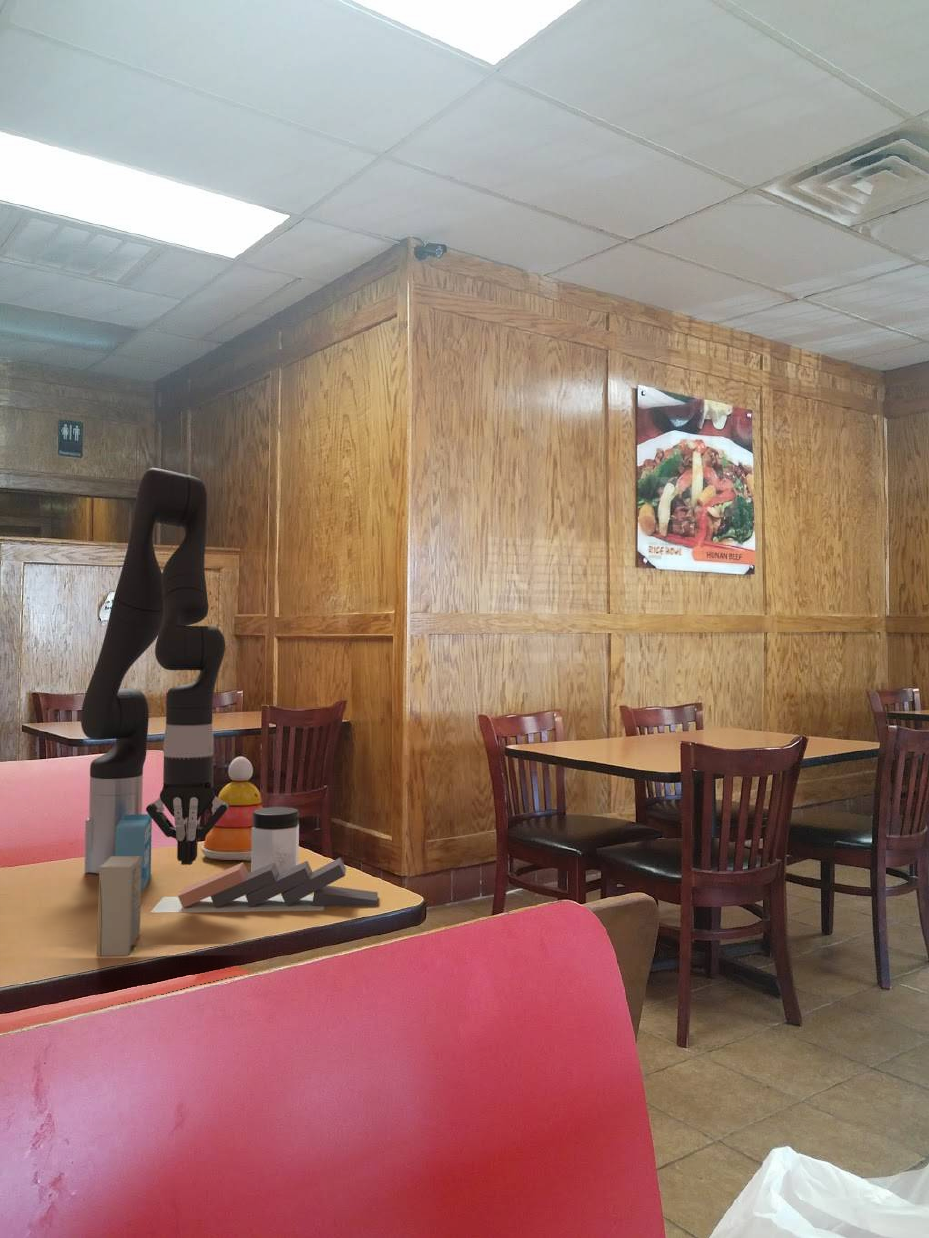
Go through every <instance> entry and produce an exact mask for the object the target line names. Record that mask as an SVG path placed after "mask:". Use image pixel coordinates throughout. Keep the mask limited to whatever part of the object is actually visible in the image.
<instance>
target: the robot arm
mask: <svg viewBox="0 0 929 1238" xmlns="http://www.w3.org/2000/svg"><path fill="white" fill-rule="evenodd" d="M136 493H137V494H136V499H135V505H134V509H133V516H132V520H131V521H132V522H131V527H130V532H129V537H128V542H127V548H126V552H125V557H124V560H123V564H122V567H121V571H120V575H119V578H118V582H117V586H116V589H115V592H114V595H113V600H112V603H111V607H110V612H109V616H108V622H107V626H106V629H105V634H104V637H103V642H102V646H101V647H100V648H101V649H100V652H99V655H98V659H97V662H96V664H95V667H94V671H93V674H92V675H91V677H90V678H91V679H90V681H89V684H88V686H87V689H86V692H85V694H84V697H83V702H82V704H81V705H82V707H81V711H80V712H81V713H80V724H81V726H80V727H81V730H82V732H83V734H84V735H85V736H86V737H87V738H88V739H90V740H94V741H95V740H96V741H101V740H115V743H114V745H113V747H111V748H110V749H109V750H108V752H106V753H104V754H103V755H101V756H99V757H96V758H95V759H93V760H92V761H91V763H90V765H89V766H90V767H89V807H88V808H89V813H88V814H89V815H88V818H87V819H85V832H84V837H85V838H84V873H91V874H96V875H97V874H98V875H99V867H100V866H101V865H102V864H103V863H104V862H105V861H106V860H107V859H109V858H110V857H111V856H115V850H116V828H117V825H118V824H119V822H120V821H121V819H122V818H123V817H124V815H137V814H143V788H144V787H143V784H144V783H143V781H144V780H143V779H144V776H143V774H144V765H145V763H146V758H147V749H148V735H149V734H148V731H149V720H150V719H149V718H150V716H149V713H150V712H149V704H148V700H147V697H146V695H145V694H144V693H143V691H142V690H140V689H138V688H132V687H131V688H129V687H128V688H121V685H122V682H123V680H124V678H125V676H126V674H127V672H128V671H129V670H130V668H132V666H133V665H134V663H136V661H137V660H138V659H139V658H140V657H141V656H142V655H143V654H144V653H145V652H146V651H147V650H148V649H149V648H150V646H151V645H152V644H153V643H154V641H156V642H155V648H154V654H155V655H154V656H155V658H156V662H157V663H158V664H159V666H160V667H161V668H163V669H164V670H168V671H199V674H198V676H197V678H196V679H195V680H194V681H192V682H190V683H187V684H181V685H176V686H173V687H171V688H169V689H168V691H167V692H166V693H167V694H166V697H165V698H166V701H165V702H166V703H165V706H166V707H165V709H166V710H165V711H166V714H165V719H166V720H165V731H164V736H163V737H164V738H163V748H162V753H163V770H162V771H163V772H162V773H163V779H162V782H163V783H162V784H163V786H162V788H161V791H160V793H159V797H158V798H157V799H156V800H155V801H153V802H151V803H150V804H148V805H147V806H146V808H145V811H146V814H149V815H150V816H151V818H152V820H153V822H154V823H155V824H156V825H157V827H158V828H159V830H160V831H161V832H162V833H163V834H164V836H165V837H166V838H173V839H175V840H176V842H177V844H176V845H177V846H176V848H177V849H176V852H177V853H176V859H177V861H178V862H180V864H181V866H187V865H189V866H191V865H192V864H193V862H195V861H196V860H197V858H198V845H199V844H198V841H199V839H201V838H203V837H206V835H207V834H208V833H209V832H210V830H211V829H212V828H213V827H214V825H215V824H216V823H217V822H218V820H219V819H220V818H221V817H222V815H223V814H224V813H225V812H226V810H227V809H228V808H229V804H228V803H227V802H222V801H221V800H220V799H219V798H218V796H217V792H216V790H215V786H214V748H215V747H214V743H215V742H214V729H213V706H214V705H213V702H214V692H215V688H216V683H217V679H218V675H219V672H220V668H221V666H222V662H223V659H224V657H225V656H224V655H225V652H226V640H225V637H224V635H223V632H222V631H221V630H220V629H219V628H217V627H216V626H211V625H195V624H197V623H200V622H203V620H204V619H206V617H207V616H208V613H209V599H208V591H207V582H206V572H205V556H206V555H205V554H206V544H207V543H206V540H207V539H206V538H207V522H208V521H207V519H208V494H207V493H208V492H207V488H206V485H205V483H204V482H203V480H201V479H200V478H198V477H195V476H192V475H189V474H184V473H179V472H176V471H172V470H166V469H161V468H157V467H150V468H148V469H146V471H145V472H144V474H143V476H142V477H141V479H140V483H139V486H138V490H137V492H136ZM156 523H158V524H163V525H167V526H172V527H178V528H183V529H184V538H183V540H182V541H181V542H180V545H179V546H178V547H177V548H176V550H175V551H174V552H173V553H172V554H171V556H170V557H169V558H168V560H167V561H166V563H165V565H164V567H163V570H161V567H160V565H159V562H158V560H157V559H158V558H157V556H156V552H155V548H154V540H153V539H154V537H153V536H154V528H155V524H156ZM211 805H212V808H211V812H212V814H213V813H214V814H213V815H211V816H210V818H209V819H207V821H206V823H204V825H203V827H200V821H201V817H202V816H203V815H204V813H205V812H206V811H207V810H208V809H209V807H210V806H211ZM165 808H166V809H167V810H168V812H169V813H170V815H171V816H172V817H174V824H173V823H172V822H171V821H170V819H169V818H168V817H167V816H166V815H165V813H164V811H165ZM174 825H175V826H174Z"/></svg>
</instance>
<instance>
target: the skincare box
mask: <svg viewBox="0 0 929 1238" xmlns="http://www.w3.org/2000/svg"><path fill="white" fill-rule="evenodd" d="M141 873H142V856H111V857H110V858H109V859H107V860H106V861H105V862H104V863H103V864H102V865H101V866H100V867H99V874H98V879H99V880H98V899H97V900H98V901H97V905H98V906H97V933H96V934H97V935H96V937H97V940H96V941H97V942H96V956H97V957H118V956H119V957H128V956H129V955H131V953H133V951H134V950H135V948H136V947H137V946H138V945H137V944H135V945H134V942H136V940H137V939H138V937H139V936H140V934H141V906H142V903H141V902H142V891H141Z"/></svg>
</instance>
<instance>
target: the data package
mask: <svg viewBox="0 0 929 1238" xmlns="http://www.w3.org/2000/svg"><path fill="white" fill-rule="evenodd" d="M152 820H153V819H152V818H151V816H150V815H149V814H148V813H146V814H145V813H144V814H143V813H142V814H137V815H124V817H123V818H122V819H121V821H120V822H119V824H118V825H117V828H116V850H115V856H142V873H141V892H144V891H145V889H146V886H147V884H148V882H149V880H150V877H151V874H152V830H153V829H152V826H153V824H152V822H153V821H152Z"/></svg>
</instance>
